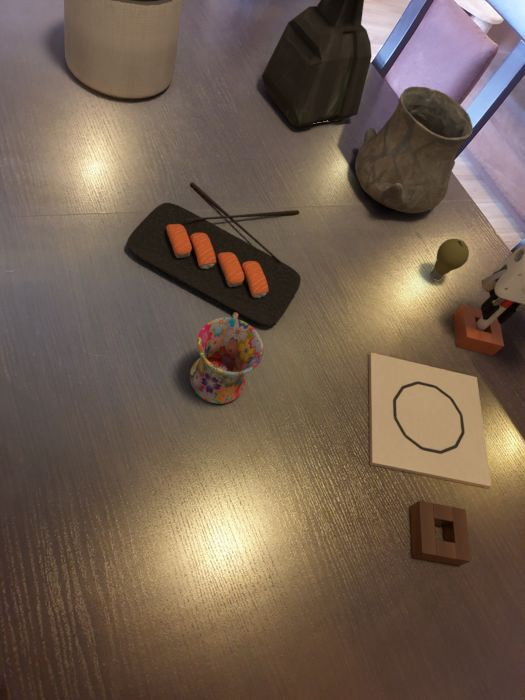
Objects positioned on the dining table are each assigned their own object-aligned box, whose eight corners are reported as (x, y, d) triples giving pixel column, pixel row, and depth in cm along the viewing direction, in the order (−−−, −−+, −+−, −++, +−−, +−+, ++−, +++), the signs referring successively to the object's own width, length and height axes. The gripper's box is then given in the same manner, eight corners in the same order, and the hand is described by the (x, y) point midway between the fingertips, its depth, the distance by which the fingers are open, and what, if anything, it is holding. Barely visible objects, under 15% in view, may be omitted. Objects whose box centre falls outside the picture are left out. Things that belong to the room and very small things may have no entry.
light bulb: (415, 273, 110) (441, 239, 102) (431, 262, 113) (458, 228, 105) (436, 293, 109) (464, 259, 101) (451, 281, 112) (480, 247, 104)
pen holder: (487, 323, 108) (498, 313, 105) (492, 355, 104) (504, 346, 101) (452, 315, 107) (462, 304, 104) (456, 347, 103) (467, 336, 100)
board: (473, 379, 100) (477, 376, 99) (487, 488, 89) (492, 486, 88) (368, 355, 97) (371, 351, 96) (369, 464, 86) (372, 462, 85)
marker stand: (454, 514, 85) (465, 509, 82) (459, 566, 81) (471, 561, 78) (409, 506, 84) (419, 500, 81) (412, 557, 80) (422, 553, 77)
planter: (185, 63, 127) (200, -32, 111) (153, 118, 115) (164, 19, 98) (90, 26, 125) (91, -76, 109) (46, 78, 113) (40, -29, 96)
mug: (241, 415, 84) (258, 381, 76) (180, 400, 83) (191, 364, 74) (252, 349, 91) (269, 311, 83) (196, 334, 90) (208, 295, 81)
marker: (476, 331, 106) (515, 293, 97) (477, 340, 105) (517, 302, 96) (466, 328, 106) (504, 290, 96) (467, 337, 105) (506, 299, 95)
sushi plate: (118, 253, 94) (119, 237, 91) (203, 161, 112) (207, 145, 109) (270, 337, 93) (276, 324, 90) (332, 231, 111) (340, 217, 108)
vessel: (392, 145, 131) (435, 65, 115) (453, 211, 124) (509, 136, 108) (321, 162, 121) (358, 77, 105) (383, 236, 114) (433, 157, 97)
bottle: (317, 80, 137) (367, -56, 113) (354, 124, 132) (416, -9, 107) (255, 88, 129) (295, -57, 105) (292, 136, 123) (344, -6, 99)
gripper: (519, 251, 82) (452, 321, 97) (614, 278, 85) (534, 342, 100) (512, 215, 86) (448, 288, 101) (602, 242, 89) (527, 309, 104)
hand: (491, 315), depth 100 cm, fingers closed
